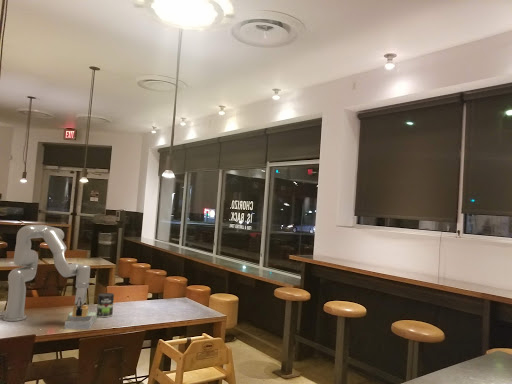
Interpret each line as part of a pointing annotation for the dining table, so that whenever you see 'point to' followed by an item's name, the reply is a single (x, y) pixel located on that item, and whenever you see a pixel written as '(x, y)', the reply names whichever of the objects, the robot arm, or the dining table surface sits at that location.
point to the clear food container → (87, 315)
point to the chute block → (84, 311)
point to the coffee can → (105, 305)
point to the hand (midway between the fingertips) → (79, 314)
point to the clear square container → (79, 322)
